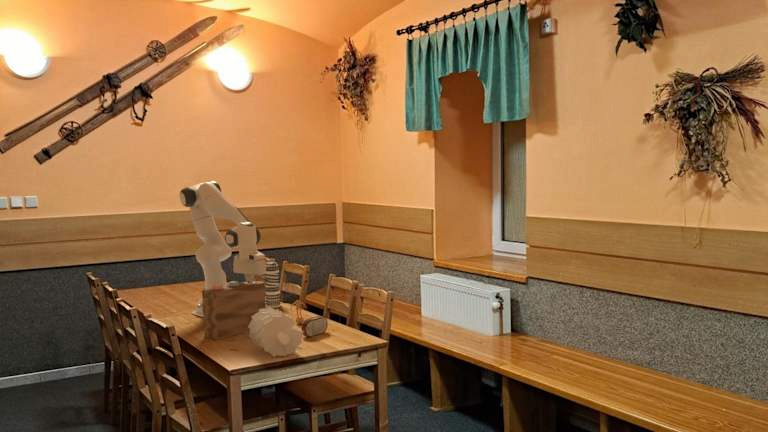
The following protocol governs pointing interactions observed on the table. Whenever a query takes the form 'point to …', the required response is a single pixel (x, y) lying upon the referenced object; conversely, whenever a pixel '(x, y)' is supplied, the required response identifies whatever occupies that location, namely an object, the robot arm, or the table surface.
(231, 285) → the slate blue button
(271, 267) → the decorative candle
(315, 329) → the tin
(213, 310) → the button console
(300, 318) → the figurine
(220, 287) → the terracotta button
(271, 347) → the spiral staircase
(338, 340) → the table surface
